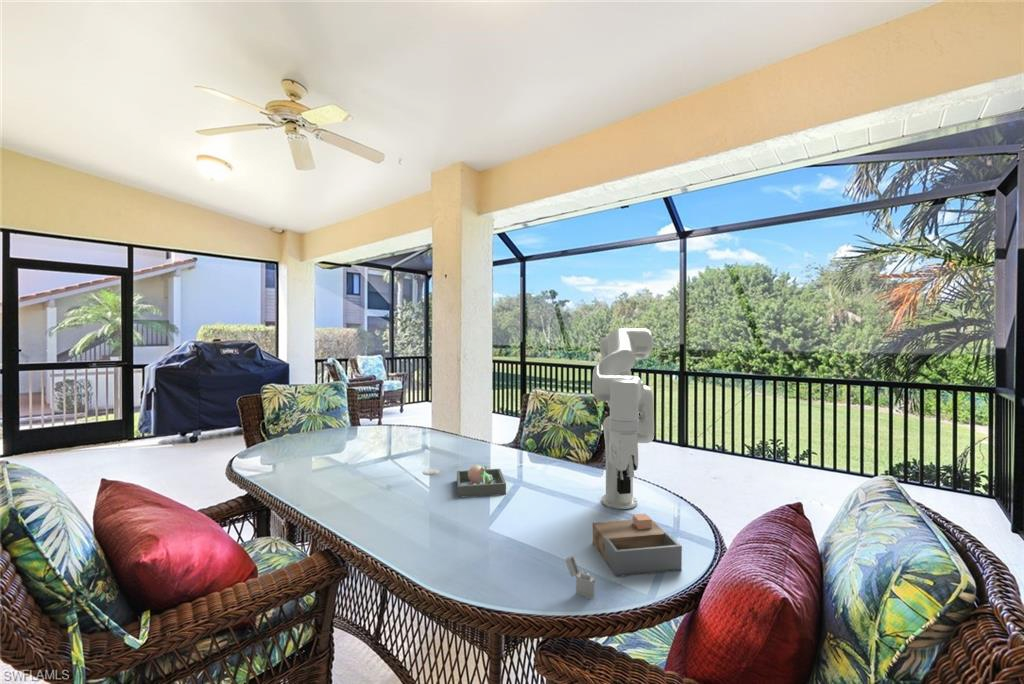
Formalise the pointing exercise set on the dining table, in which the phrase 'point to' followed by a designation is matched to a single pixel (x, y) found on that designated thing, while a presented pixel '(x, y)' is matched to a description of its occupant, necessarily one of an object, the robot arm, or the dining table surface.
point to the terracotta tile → (642, 521)
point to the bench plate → (626, 535)
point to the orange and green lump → (479, 475)
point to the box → (644, 558)
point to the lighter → (581, 579)
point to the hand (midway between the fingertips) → (623, 492)
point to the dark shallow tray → (481, 488)
